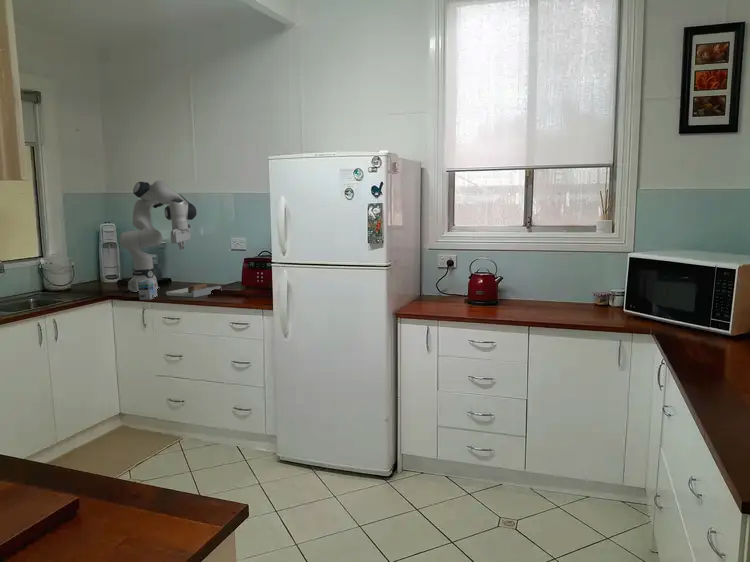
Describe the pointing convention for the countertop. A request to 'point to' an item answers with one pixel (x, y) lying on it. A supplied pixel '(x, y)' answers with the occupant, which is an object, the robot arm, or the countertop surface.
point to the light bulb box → (147, 289)
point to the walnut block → (196, 287)
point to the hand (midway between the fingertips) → (181, 249)
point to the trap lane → (192, 292)
